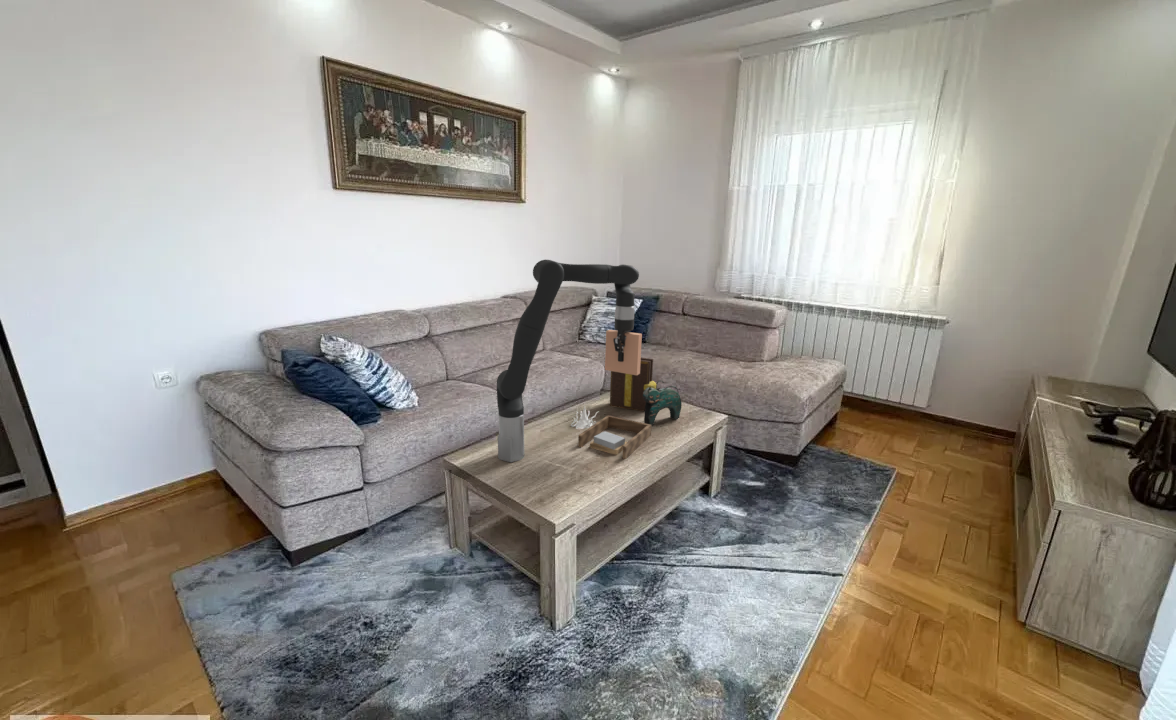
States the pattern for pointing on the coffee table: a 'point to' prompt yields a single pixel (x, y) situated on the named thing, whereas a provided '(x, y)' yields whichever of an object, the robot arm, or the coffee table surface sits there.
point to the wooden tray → (621, 424)
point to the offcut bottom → (606, 448)
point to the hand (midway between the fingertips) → (622, 360)
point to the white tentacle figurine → (583, 420)
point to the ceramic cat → (661, 403)
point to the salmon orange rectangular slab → (630, 353)
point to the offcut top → (609, 440)
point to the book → (631, 387)
